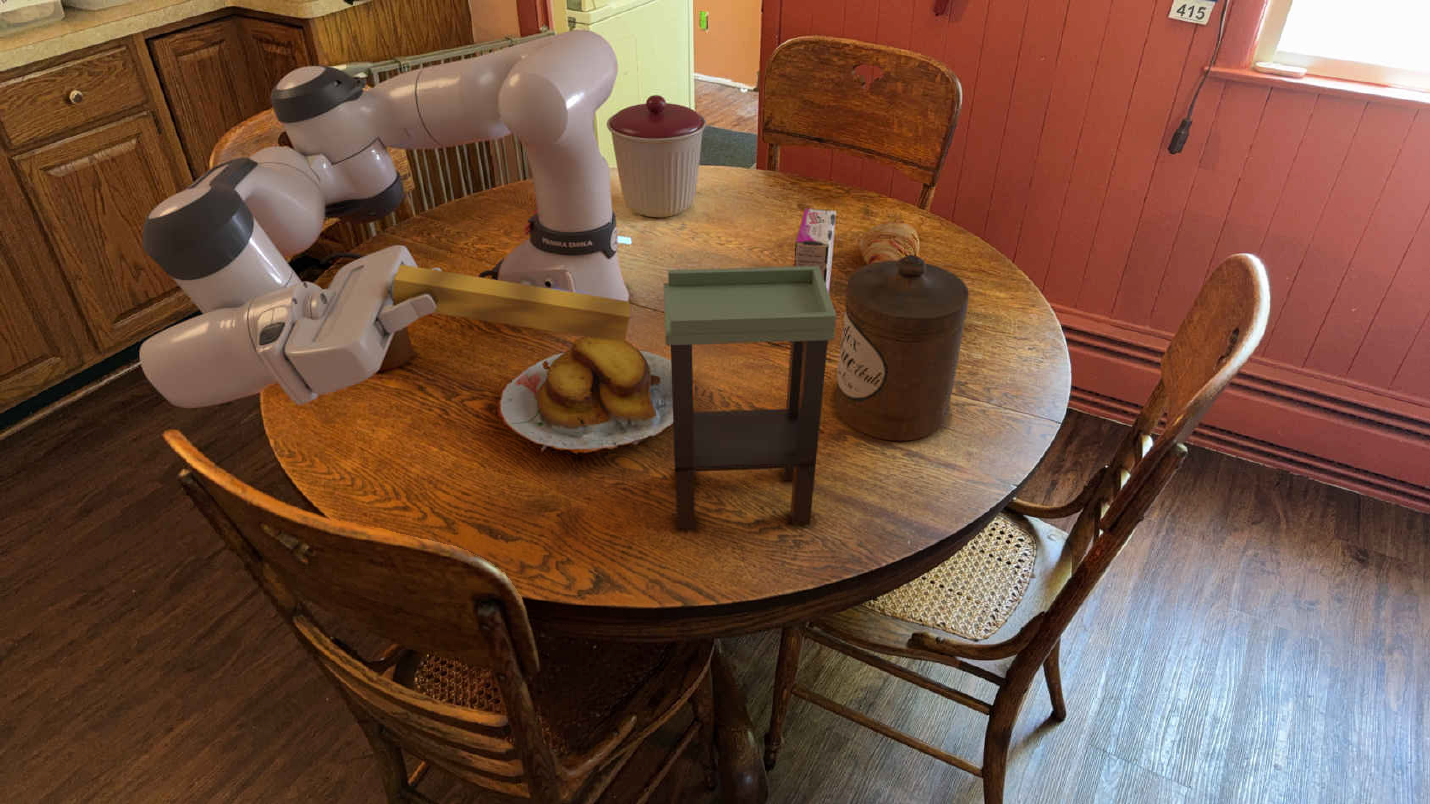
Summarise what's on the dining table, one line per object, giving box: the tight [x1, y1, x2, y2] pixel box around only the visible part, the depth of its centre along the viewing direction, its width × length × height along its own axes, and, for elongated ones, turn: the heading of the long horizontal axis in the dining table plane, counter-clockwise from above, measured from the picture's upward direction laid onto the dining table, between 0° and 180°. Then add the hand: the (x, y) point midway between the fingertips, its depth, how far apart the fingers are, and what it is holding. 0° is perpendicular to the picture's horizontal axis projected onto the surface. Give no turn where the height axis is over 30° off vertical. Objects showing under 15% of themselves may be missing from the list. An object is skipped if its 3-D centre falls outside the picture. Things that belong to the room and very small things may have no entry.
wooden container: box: [834, 255, 970, 442], centre depth 107 cm, size 15×15×22 cm
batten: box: [393, 265, 631, 342], centre depth 83 cm, size 22×3×3 cm, turn 96°
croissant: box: [859, 219, 920, 265], centre depth 146 cm, size 21×10×8 cm, turn 163°
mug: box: [377, 326, 413, 372], centre depth 118 cm, size 12×8×9 cm, turn 2°
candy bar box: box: [793, 208, 837, 294], centre depth 126 cm, size 11×5×16 cm, turn 168°
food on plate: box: [497, 336, 696, 459], centre depth 112 cm, size 25×25×7 cm
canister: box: [606, 94, 707, 218], centre depth 159 cm, size 18×18×21 cm
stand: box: [663, 266, 837, 531], centre depth 92 cm, size 16×10×28 cm, turn 94°
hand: (438, 288), depth 81 cm, fingers closed on batten, 3 cm apart
